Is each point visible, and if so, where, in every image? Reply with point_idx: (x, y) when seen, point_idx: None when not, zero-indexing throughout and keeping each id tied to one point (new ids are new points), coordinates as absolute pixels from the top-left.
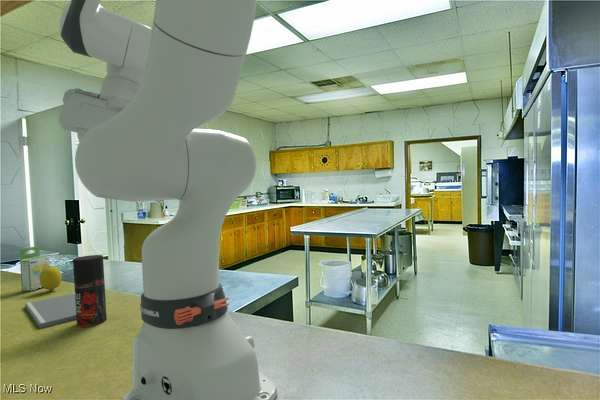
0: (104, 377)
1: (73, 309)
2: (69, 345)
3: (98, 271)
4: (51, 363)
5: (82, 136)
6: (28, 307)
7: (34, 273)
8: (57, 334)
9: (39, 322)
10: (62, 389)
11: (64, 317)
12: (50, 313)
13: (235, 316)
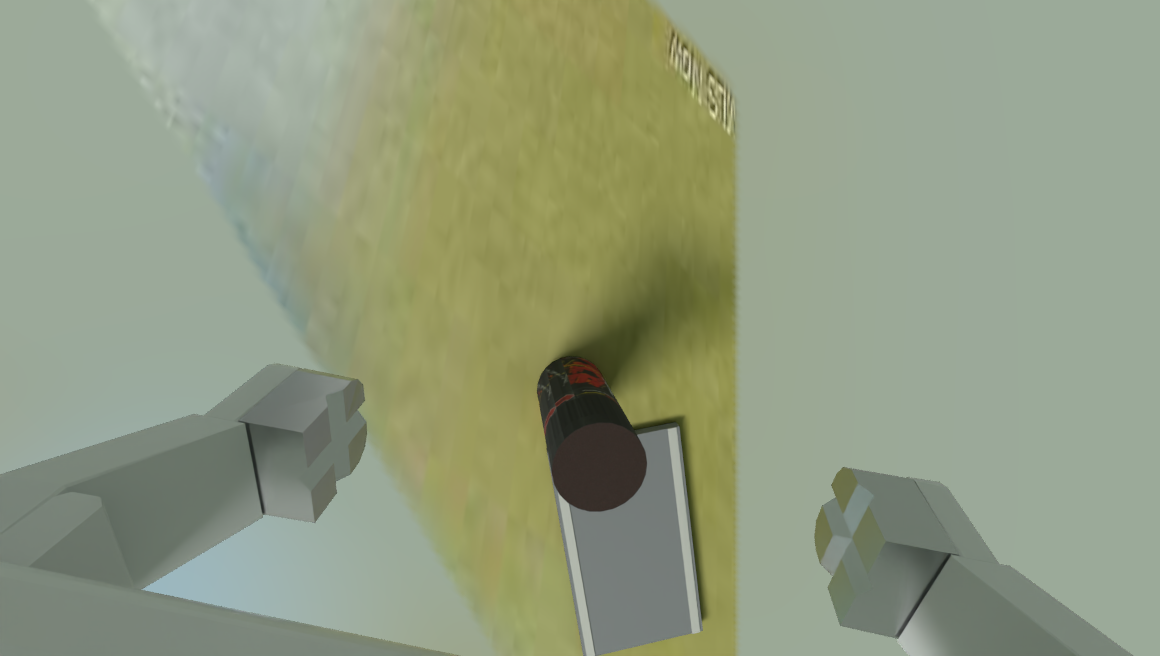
0: (585, 19)
1: None
2: (628, 257)
3: (567, 413)
4: (665, 178)
5: (1074, 645)
6: (696, 587)
7: None
8: (645, 352)
9: (679, 440)
10: (655, 28)
11: None
12: (654, 497)
13: (210, 145)
